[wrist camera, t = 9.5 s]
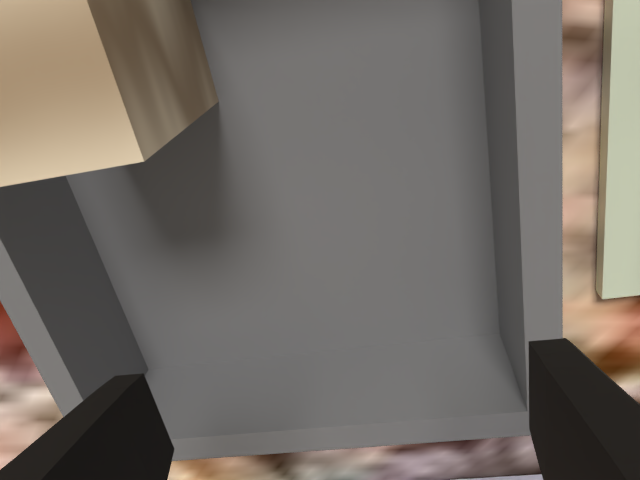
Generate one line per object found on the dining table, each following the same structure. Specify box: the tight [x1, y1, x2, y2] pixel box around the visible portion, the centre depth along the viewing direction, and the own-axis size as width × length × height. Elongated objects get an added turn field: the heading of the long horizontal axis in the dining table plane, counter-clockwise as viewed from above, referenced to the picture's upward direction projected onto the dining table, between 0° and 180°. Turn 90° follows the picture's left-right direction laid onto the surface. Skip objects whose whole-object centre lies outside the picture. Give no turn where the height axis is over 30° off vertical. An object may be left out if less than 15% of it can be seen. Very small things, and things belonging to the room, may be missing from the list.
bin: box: [0, 0, 562, 461], centre depth 16 cm, size 18×16×4 cm
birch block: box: [0, 0, 219, 187], centre depth 13 cm, size 4×4×6 cm
